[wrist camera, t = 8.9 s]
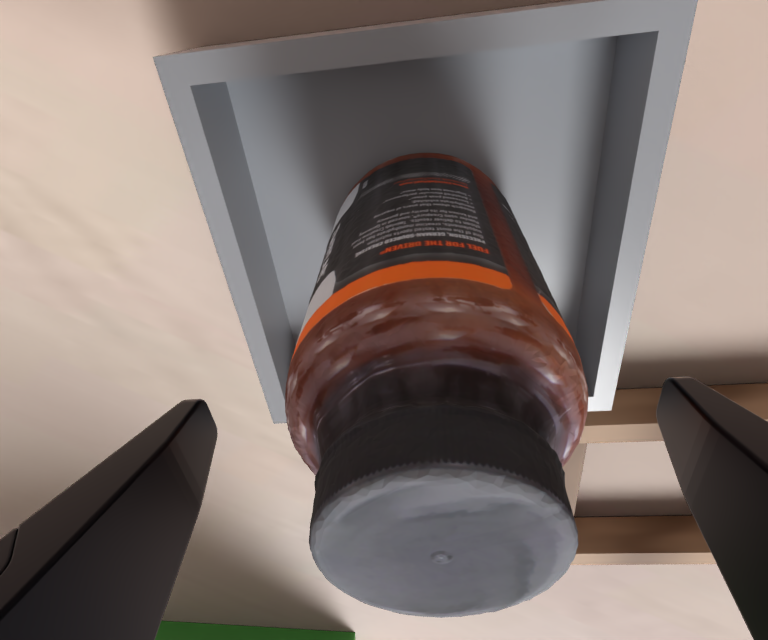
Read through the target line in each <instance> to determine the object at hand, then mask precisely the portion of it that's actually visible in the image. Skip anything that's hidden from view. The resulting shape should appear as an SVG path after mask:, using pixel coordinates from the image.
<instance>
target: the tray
mask: <svg viewBox="0 0 768 640" xmlns="http://www.w3.org/2000/svg"><path fill="white" fill-rule="evenodd" d="M697 2H698V0H569V1H562V2H554V3H546V4H538V5H530V6H522V7H514V8H506V9H498V10H490V11H482V12H474V13H466V14H459V15H451V16H443V17H435V18H427V19H419V20H411V21H403V22H395V23H387V24H379V25H371V26H363V27H356V28H348V29H340V30H332V31H324V32H316V33H308V34H300V35H292V36H284V37H276V38H268V39H260V40H252V41H245V42H237V43H229V44H221V45H213V46H205V47H198V48H193V49H189V50H184V51H179V52H174V53H170V54H165V55H160V56H155V57H153V59H154V62H155V65H156V68H157V71H158V74H159V77H160V80H161V83H162V87H163V90H164V93H165V96H166V99H167V102H168V105H169V108H170V111H171V114H172V117H173V120H174V123H175V126H176V129H177V132H178V135H179V138H180V141H181V144H182V147H183V150H184V153H185V156H186V159H187V162H188V165H189V168H190V171H191V174H192V177H193V180H194V183H195V186H196V190H197V193H198V196H199V199H200V202H201V205H202V208H203V211H204V214H205V217H206V220H207V223H208V226H209V229H210V232H211V235H212V238H213V241H214V244H215V247H216V250H217V253H218V256H219V259H220V262H221V265H222V268H223V271H224V274H225V277H226V280H227V283H228V286H229V290H230V293H231V296H232V299H233V302H234V305H235V308H236V311H237V314H238V317H239V320H240V323H241V326H242V329H243V332H244V335H245V338H246V341H247V344H248V347H249V350H250V353H251V356H252V359H253V362H254V365H255V368H256V371H257V374H258V377H259V380H260V383H261V386H262V389H263V393H264V396H265V399H266V402H267V405H268V408H269V411H270V414H271V417H272V420H273V423H274V424H275V423H287V421H286V420H287V417H286V413H285V390H286V383H287V377H288V372H289V366H290V363H291V360H292V357H293V354H294V351H295V347H296V343H297V340H298V337H299V334H300V331H301V328H302V325H303V322H304V319H305V316H306V313H307V309H308V306H309V301H310V298H311V295H312V293H313V290H314V287H315V284H316V281H317V277H318V274H319V271H320V268H321V265H322V262H323V259H324V255H325V253H326V248H327V244H328V242H329V239H330V237H331V234H332V230H333V227H334V224H335V221H336V218H337V215H338V213H339V211H340V208H341V206H342V204H343V202H344V200H345V199H346V197H347V195H348V193H349V192H350V191H351V189H352V188H353V187H354V185H355V184H356V183H357V182H358V181H359V180H360V179H361V178H362V177H363V176H364V175H366V174H367V173H368V172H369V171H370V170H372V169H373V168H375V167H376V166H378V165H380V164H382V163H384V162H386V161H387V160H390V159H393V158H396V157H399V156H403V155H408V154H414V153H440V154H445V155H450V156H454V157H457V158H459V159H462V160H464V161H466V162H468V163H470V164H471V165H473V166H475V167H476V168H478V169H479V170H481V171H482V172H483V173H484V174H485V175H487V176H488V177H489V178H490V179H491V180H492V181H493V183H494V184H495V185H496V186H497V188H498V189H499V190H500V192H501V193H502V195H503V196H504V197H505V198H506V200H507V202H508V204H509V206H510V208H511V210H512V212H513V214H514V216H515V218H516V220H517V223H518V225H519V227H520V229H521V231H522V233H523V235H524V237H525V238H526V241H527V243H528V245H529V248H530V250H531V252H532V254H533V256H534V258H535V260H536V262H537V264H538V266H539V268H540V270H541V272H542V274H543V277H544V280H545V281H546V283H547V285H548V288H549V290H550V292H551V294H552V297H553V298H554V300H555V302H556V305H557V307H558V309H559V311H560V313H561V315H562V317H563V320H564V322H565V324H566V326H567V329H568V331H569V333H570V335H571V337H572V339H573V341H574V344H575V346H576V349H577V351H578V353H579V356H580V359H581V363H582V367H583V371H584V374H585V378H586V382H587V386H588V411H611V410H612V405H613V400H614V395H615V391H616V386H617V381H618V377H619V372H620V367H621V362H622V358H623V353H624V348H625V343H626V339H627V334H628V329H629V324H630V320H631V315H632V310H633V305H634V301H635V296H636V291H637V286H638V282H639V277H640V272H641V267H642V263H643V258H644V253H645V248H646V244H647V239H648V234H649V229H650V225H651V220H652V215H653V210H654V206H655V201H656V196H657V191H658V187H659V182H660V177H661V173H662V168H663V163H664V158H665V154H666V149H667V144H668V139H669V135H670V130H671V125H672V120H673V116H674V111H675V106H676V101H677V97H678V92H679V87H680V82H681V78H682V73H683V68H684V63H685V59H686V54H687V49H688V44H689V40H690V35H691V30H692V25H693V21H694V16H695V11H696V6H697Z"/></svg>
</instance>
